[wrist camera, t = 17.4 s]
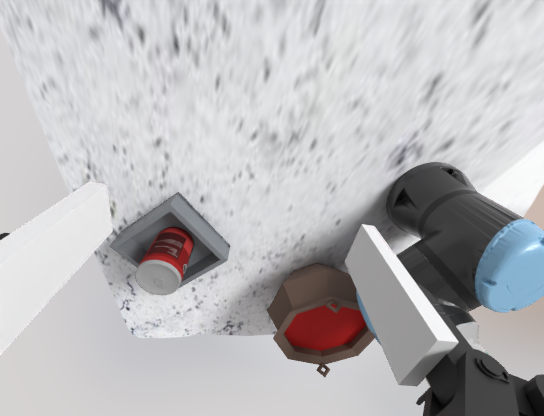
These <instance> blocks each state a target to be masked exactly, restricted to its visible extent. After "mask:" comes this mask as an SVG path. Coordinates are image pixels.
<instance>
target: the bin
mask: <svg viewBox="0 0 544 416" xmlns="http://www.w3.org/2000/svg"><path fill="white" fill-rule="evenodd" d="M168 227H178V228H181V229H184V230H185V231H187V232H188V233H189V234H190V235H191V237H192V239H193V242H194V248H193V251H192V254H191V257H190V260H189V263H188V265H187V268H186V271H185V274H184V276H183V279H182V281H181V284H180V286H179V288H180V287H182V286H183V285H185V284H187V283H189V282H190V281H192V280H194V279H196V278H198V277H199V276H201V275H203V274H205V273H206V272H208V271H210V270H212V269H214V268H215V267H217V266H219V265H221V264H222V263H224V262H226V261H227V260H228V254H229V248H230V245H229V244H228V243H227V242H226V241H225V240H224V239H223V238H222V237H221V236H220V235H219V233H218V232H217V231H216V230H215V229H214V228H213V227H212V226H211V225H210V224H209V223H208V222H207V221H206V220H205V219H204V218H203V217H202V216H201V215H200V214H199V213H198V212H197V211H196V210H195V209H194V208H193V207H192V205H191V204H190V203H189V202H188V201H187V200H186V199H185V198H184V197H183V196H182V195H181V194H180V193H179V192H178V193H177V194H175V195H174V196H172V197H171V198H169V199H168V200H166V201H165V202H164V203H162V204H161V205H159V206H158V207H156V208H155V209H153V210H152V211H150V212H149V213H148V214H146V215H145V216H143V217H142V218H140V219H139V220H137V221H136V222H135V223H133V224H132V225H130V226H129V227H127V228H126V229H124V230H123V231H122V232H121V233H120V234H119V235H118V237H117V238H116V239H115V240H114V241H113V242H112V244H111V245H110V247H111V248H113V249H114V250H115V251H116V252H118V253H119V254H120V255H122V256H123V257H124V258H126V259H127V260H128V261H129V262H131V263H132V264H133V265H135V266H136V267H138V266H139V264H140V262H141V261H142V259H143V257H144V256H145V254H146V253H147V251H148V249H149V248H150V246H151V245H152V243H153V241H154V240H155V238H156V237H157V235H158V234H159V232H161V231H162V230H164V229H165V228H168Z"/></svg>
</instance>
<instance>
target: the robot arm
mask: <svg viewBox="0 0 544 416" xmlns="http://www.w3.org/2000/svg"><path fill="white" fill-rule="evenodd" d="M387 212H388V215H389V217H390V218H391V220H392V221H393V222H394V223H395V224H396V225H397V226H398V227H399V228H400V229H402V230H404V231H406V232H408V233H410V234H412V235H414V236H416V237H419V238H421V240H420V241H418V242H417V243H415V244H413V245H412V246H410V247H409V248H407V249H406V250H404V251H403V252H401V253H399V254H398V255H395V254H394V252H393V251H392V250H391V248H390V247H389V245H388V244H387V243H386V241H385V240H384V239H383V237H382V236H381V234H380V233H379V232H378V230H377V229H376V228H375V226H370V225H364V224H362V225H361V227H360V229H359V231H358V233H357V235H356V238H355V240H354V242H353V244H352V246H351V249H350V251H349V253H348V255H347V257H346V260H345V264H346V266H347V269H348V271H349V273H350V275H351V278H352V280H353V282H354V284H355V287H356V289H357V290H356V295H357V301H358V304H359V308H360V310H361V313H362V315H363V318H364V320H365V322H366V324H367V326H368V328H369V329H370V331H371V332H372V333H374V336H375V338H376V340H377V341H378V342H379V344H380V345H381V346H382V348H383V351H384V353H385V355H386V358H387V360H388V362H389V364H390V367H391V369H392V371H393V373H394V376H395V378H396V380H397V383H398V385H407V386H418V385H419V384H420V383H421V381H423V379H424V378H425V379H426V381H427V382H428V384H429V386H430V388H429V389H428V390H427V391H426V392H425V393H424V394H423V395H422V396H421V397H420V398H419V399H418V401H417V403H416V404H418V405H421V403H423V402H424V401H425V406H424V412H423V416H544V375H537V376H535V377H534V378H532V379H531V380H530V381H526V380H523V379H521V378H519V377H516V376H513V375H511V374H508V372H507V371H506V370H505V369H504V367H503V366H502V365H501V364H499V362H497V361H496V360H495V359H494V358H492V357H491V356H490V355H488V354H487V353H486V352H485V350H484V349H483V348H482V347H481V346H480V344H479V341H478V331H479V325H478V323H477V322H476V321H475V320H474V319H473V318H472V317H471V315H470V314H469V313H468V312H469V311H471V310H473V309H475V308H477V307H479V306H481V305H483V306H484V307H486V308H489V309H490V310H493V311H495V312H508V311H510V310H512V311H516V310H519V309H522V308H524V307H526V306H529V305H531V304H532V303H534V302H535V301H537V300H538V299H540V298H541V297H542V296H544V231H543V230H542V229H540V228H539V227H538V226H537V225H536V224H535V223H533V222H532V221H530V220H527V219H524V218H523V217H521V216H519V215H517V214H515V213H514V212H512V211H510V210H508V209H506V208H505V207H503V206H501V205H499V204H497V203H496V202H494V201H492V200H490V199H488V198H487V197H485V196H483V195H481V194H479V193H478V192H477V191H476V190H475V188H474V187H473V185H472V184H471V183H470V181H469V180H468V179H467V177H466V176H465V175H464V174H463V173H462V172H461V171H460V170H458V169H456V168H455V167H453V166H451V165H448V164H446V163H440V162H432V163H426V164H423V165H420V166H417V167H415V168H413V169H411V170H410V171H408V172H407V173H405V174H404V175H403V176H402V177H401V178H400V179H399V180H398V181H397V182H396V183H395V184H394V186H393V187H392V189H391V191H390V193H389V196H388V199H387ZM112 231H113V229H112V221H111V214H110V206H109V199H108V192H107V184H101V183H95V182H88V183H86V184H85V185H83V186H82V187H80V188H79V189H77V190H76V191H74V192H73V193H71V194H70V195H68V196H67V197H65V198H64V199H62V200H61V201H59V202H58V203H56V204H55V205H53V206H52V207H50V208H49V209H47V210H46V211H44V212H43V213H41V214H40V215H38V216H37V217H35V218H34V219H32V220H30V221H29V222H27V223H26V224H24V225H23V226H22V227H20V228H18V229H17V230H15V231H14V232H12V233H11V234H10V233H3V234H1V235H0V355H1V354H2V353H3V352H4V351H5V350H6V348H7V347H8V346H9V345H10V344H11V343H12V342H13V341H14V340H15V339H16V337H17V336H18V335H19V334H20V333H21V332H22V331H23V330H24V329H25V327H26V326H27V325H28V324H29V323H30V322H31V321H32V320H33V319H34V317H35V316H36V315H37V314H38V313H39V312H40V311H41V310H42V309H43V308H44V306H45V305H46V304H47V303H48V302H49V301H50V300H51V299H52V298H53V297H54V295H55V294H56V293H57V292H58V291H59V290H60V289H61V288H62V287H63V286H64V284H65V283H66V282H67V281H68V280H69V279H70V278H71V277H72V276H73V275H74V273H75V272H76V271H77V270H78V269H79V268H80V267H81V266H82V265H83V263H84V262H85V261H86V260H87V259H88V258H89V257H90V256H91V255H92V253H93V252H94V251H95V250H96V249H97V248H98V247H99V246H100V245H101V244H102V243H103V241H104V240H105V239H106V238H107V237H108V236H109V235H110V234H111V233H112ZM425 257H426V258H427V259H426V258H425ZM432 265H433V266H434V267H433V266H432Z"/></svg>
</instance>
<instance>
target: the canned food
mask: <svg viewBox="0 0 544 416" xmlns="http://www.w3.org/2000/svg"><path fill="white" fill-rule="evenodd" d="M193 248H194V242H193V239H192V237H191V235H190V234H189V233H188V232H187V231H185V230H184V229H181V228H178V227H168V228H165V229H164V230H162V231H161V232H159V234H158V235H157V237H156V238H155V240H154V241H153V243H152V245H151V246H150V248H149V249H148V251H147V253H146V254H145V256H144V257H143V259H142V261H141V262H140V264H139V266H138V267H137V270H136V272H135V279H136V281H137V283H138V284H139V286H140V287H141V288H143V289H144V290H145V291H147V292H149V293H152V294H156V295H168V294H171V293H173V292H175V291H176V290H177V289H178V288H179V286H180V284H181V281H182V279H183V276H184V274H185V271H186V268H187V265H188V263H189V260H190V257H191V254H192V251H193Z"/></svg>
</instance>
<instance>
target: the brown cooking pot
mask: <svg viewBox="0 0 544 416" xmlns="http://www.w3.org/2000/svg"><path fill="white" fill-rule="evenodd" d="M356 290H357V289H356V287H355V284H354V282H353V280H352V278H351V275H350V274H348V273H345V272H343V271H340V270H338V269H335V268H332V267H328V266H325V265H321V264H318V263H315V264H312V265H309V266H306V267H303V268H300V269H298V270H295V271H294V272H293V273H292V274H291V275H290V276H289V277H288V278H287V279H286V281H285V282H284V283H283V284H282V286H281V288H280V289H279V291H278V293H277V295H276V296H275V298H274V300H273V302H272V303H271V305H270V307H269V309H268V310H267V311H268V313H269V315H270V317H271V319H272V320H273V322H274V324H275V326H276V328H277V330H278V331H277V333H276V334H275V336H274V340H275V342H276V343H277V344H278V346H279V347H280V348H281V350H282V351H283V353H284V354H285V355H286V357H287V358H288V359H291V360H296V361H302V362H307V363H313V364H319V365H320V366H319V367H318V369H317V371H318V372H319V373H320V374H322V375H323V376H324V377H326V375H327V373H328V372H329V371H330V369H329V368H328V367H327V366H326V365H325V364H328V363H332V362H336V361H339V360H343V359H347V358H350V357H354V356H358V355H359V354H360V353H361V352H362V351H363V350H364V349H365V348H366V347H367V346H368V345H369V344H370V343H371V342H372V340H373V339H374V338H375V336H374V333H372V332H371V331H370V329H369V328H368V326H367V324H366V322H365V320H364V318H363V315H362V313H361V310H360V308H359V304H358V301H357V295H356ZM322 367H324V368H325V369H326V370H325V372H323V371H321V369H322Z"/></svg>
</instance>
